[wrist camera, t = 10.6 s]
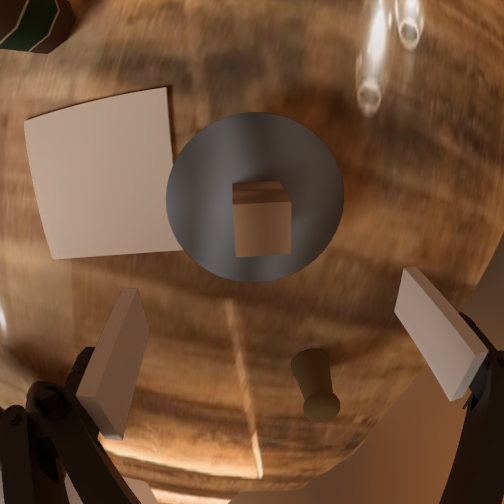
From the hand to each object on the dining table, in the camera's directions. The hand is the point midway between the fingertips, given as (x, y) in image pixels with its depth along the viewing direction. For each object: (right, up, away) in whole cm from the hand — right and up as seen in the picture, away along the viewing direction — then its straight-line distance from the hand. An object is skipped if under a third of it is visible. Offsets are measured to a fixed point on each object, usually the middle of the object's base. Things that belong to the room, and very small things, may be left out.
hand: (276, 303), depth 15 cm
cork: (+8, -15, +34) cm, 38 cm away
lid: (-1, +7, +14) cm, 16 cm away
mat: (-19, +11, +19) cm, 29 cm away
